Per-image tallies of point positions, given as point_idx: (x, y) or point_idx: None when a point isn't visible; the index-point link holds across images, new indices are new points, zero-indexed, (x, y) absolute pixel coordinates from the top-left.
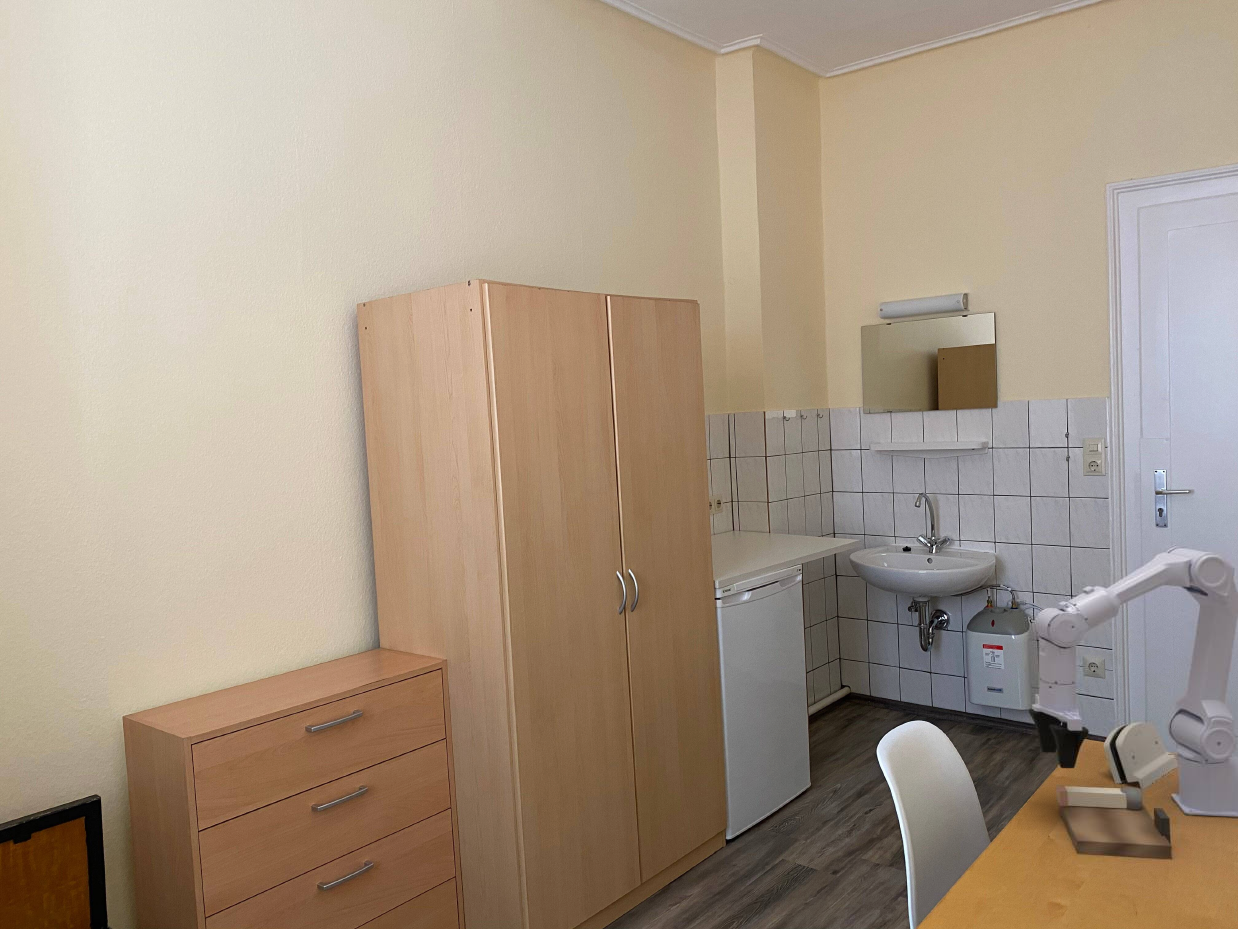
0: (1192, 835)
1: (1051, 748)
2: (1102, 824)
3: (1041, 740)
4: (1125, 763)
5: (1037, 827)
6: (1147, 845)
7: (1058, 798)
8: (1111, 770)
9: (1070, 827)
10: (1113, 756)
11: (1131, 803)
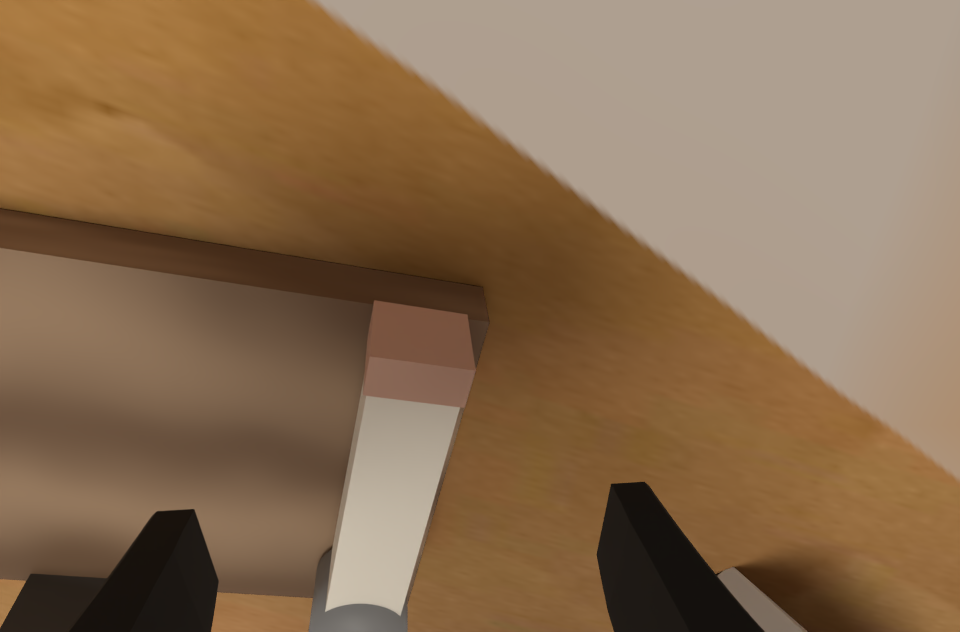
0: (215, 627)
1: (611, 567)
2: (124, 413)
3: (659, 580)
4: None
5: (240, 89)
6: None
7: (430, 322)
8: (770, 603)
9: (73, 253)
10: None
11: (316, 586)
